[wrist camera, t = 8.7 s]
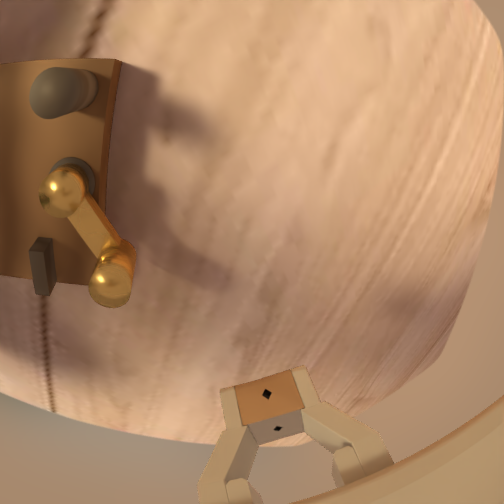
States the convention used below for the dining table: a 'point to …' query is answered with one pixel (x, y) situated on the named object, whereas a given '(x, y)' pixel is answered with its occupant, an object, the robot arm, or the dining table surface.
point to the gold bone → (91, 233)
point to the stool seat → (51, 161)
